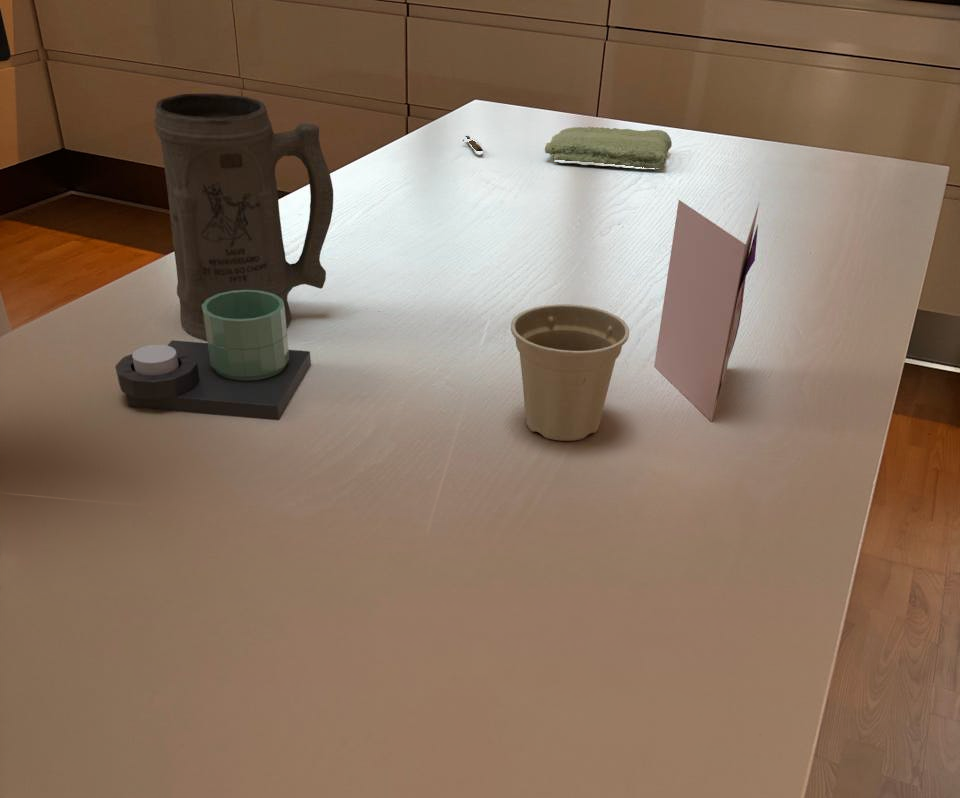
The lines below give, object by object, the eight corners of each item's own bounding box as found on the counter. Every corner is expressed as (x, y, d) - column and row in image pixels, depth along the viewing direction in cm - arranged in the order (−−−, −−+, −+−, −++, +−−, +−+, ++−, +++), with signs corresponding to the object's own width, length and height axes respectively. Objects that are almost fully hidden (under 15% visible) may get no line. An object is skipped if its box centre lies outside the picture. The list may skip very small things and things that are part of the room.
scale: (111, 411, 86) (103, 377, 84) (161, 353, 95) (155, 322, 93) (276, 425, 85) (272, 391, 83) (311, 365, 94) (308, 334, 92)
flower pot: (536, 461, 82) (544, 359, 76) (487, 409, 88) (491, 312, 83) (637, 440, 85) (652, 341, 80) (583, 392, 92) (593, 297, 86)
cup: (200, 378, 88) (190, 316, 85) (224, 346, 93) (216, 287, 90) (277, 385, 88) (271, 323, 84) (297, 352, 93) (292, 292, 89)
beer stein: (182, 350, 96) (161, 115, 83) (165, 307, 103) (144, 86, 91) (342, 341, 101) (345, 119, 89) (315, 301, 108) (314, 91, 96)
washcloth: (556, 141, 158) (558, 119, 156) (671, 152, 156) (674, 129, 153) (542, 164, 148) (543, 140, 146) (664, 175, 146) (667, 151, 144)
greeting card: (721, 423, 88) (757, 246, 78) (636, 409, 89) (660, 233, 80) (736, 369, 96) (769, 203, 87) (657, 357, 98) (682, 192, 88)
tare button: (128, 375, 86) (125, 360, 85) (144, 357, 88) (141, 342, 87) (170, 379, 85) (167, 364, 84) (184, 361, 88) (182, 346, 87)
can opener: (483, 156, 150) (483, 148, 149) (467, 156, 150) (468, 148, 149) (475, 140, 157) (475, 132, 156) (460, 141, 157) (460, 132, 156)
